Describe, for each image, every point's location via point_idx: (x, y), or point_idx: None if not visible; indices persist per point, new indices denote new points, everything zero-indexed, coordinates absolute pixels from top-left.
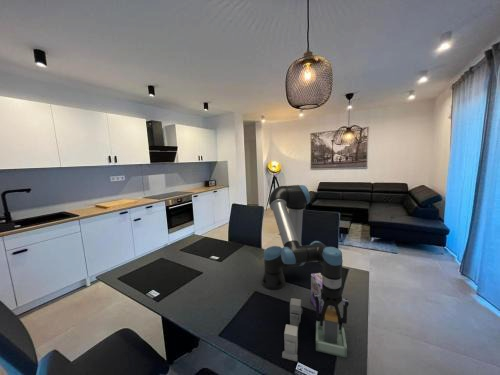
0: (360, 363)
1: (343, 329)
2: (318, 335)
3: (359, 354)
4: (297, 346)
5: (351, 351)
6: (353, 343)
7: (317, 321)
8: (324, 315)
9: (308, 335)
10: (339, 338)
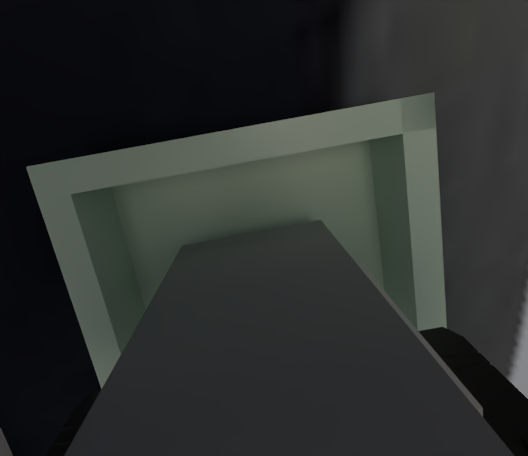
0: (507, 360)
1: (427, 155)
2: (136, 269)
3: (513, 281)
4: (3, 453)
5: (449, 282)
6: (477, 181)
7: (47, 167)
8: (90, 443)
9: (44, 286)
10: (350, 208)
